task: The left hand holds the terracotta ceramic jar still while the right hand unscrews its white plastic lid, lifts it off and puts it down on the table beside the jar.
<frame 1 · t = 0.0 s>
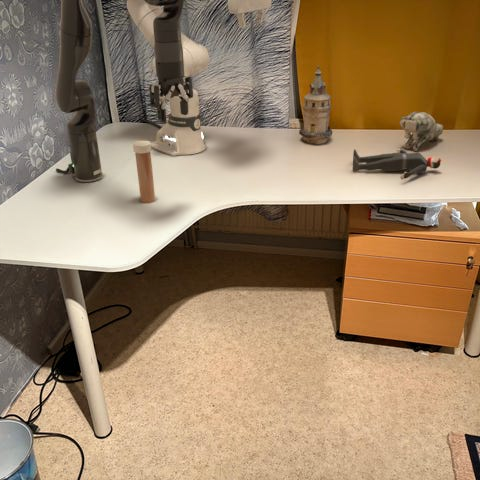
left hand: (173, 118, 150), 29 cm above the table, tool pointing down, fingers open, 8 cm apart
right hand: (250, 25, 175), 48 cm above the table, tool pointing down, fingers open, 8 cm apart
figurine: (419, 145, 213), on the table
lid: (142, 144, 163), point 19 cm above the table, screwed on, not yet turned
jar: (148, 199, 173), on the table
toy: (394, 170, 191), on the table
miniature building: (315, 140, 221), on the table
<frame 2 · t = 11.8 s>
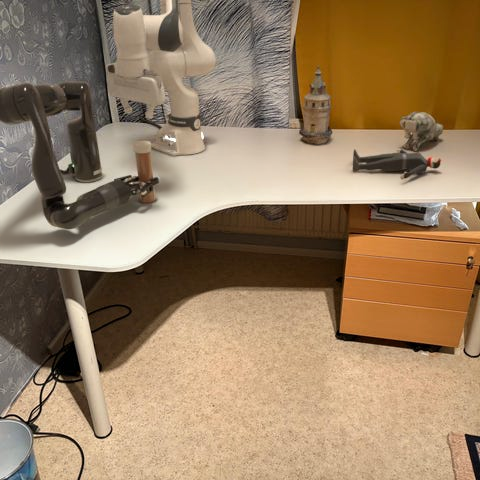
left hand: (152, 178, 171), 7 cm above the table, tool horizontal, fingers closed on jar, 4 cm apart
right hand: (138, 115, 159), 27 cm above the table, tool pointing down, fingers open, 7 cm apart
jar: (148, 199, 173), on the table, touching left hand
everything else where it was.
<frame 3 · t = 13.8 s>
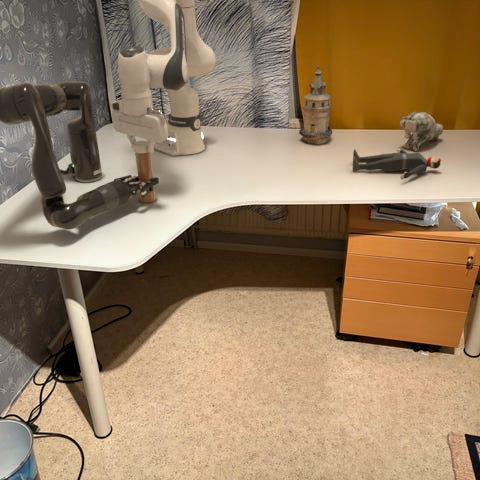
left hand: (152, 178, 171), 7 cm above the table, tool horizontal, fingers closed on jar, 4 cm apart
right hand: (142, 150, 164), 17 cm above the table, tool pointing down, fingers closed on lid, 5 cm apart
lid: (142, 144, 163), point 19 cm above the table, screwed on, not yet turned, touching right hand
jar: (147, 199, 173), on the table, touching left hand
everything else where it was.
when the right hand's fingers open (17 cm above the table, at t = 15.1 s): lid stays where it is, point 19 cm above the table.
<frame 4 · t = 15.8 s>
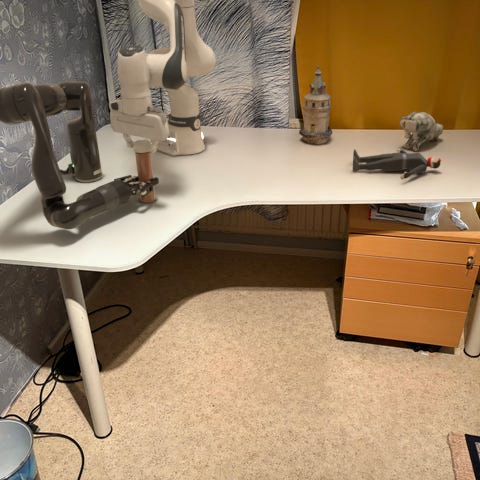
left hand: (152, 178, 171), 7 cm above the table, tool horizontal, fingers closed on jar, 4 cm apart
right hand: (141, 149, 164), 17 cm above the table, tool pointing down, fingers open, 7 cm apart
lid: (141, 143, 163), point 19 cm above the table, turned 65° so far, risen 0.2 cm, still on its thread
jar: (147, 199, 173), on the table, touching left hand
everything else where it was.
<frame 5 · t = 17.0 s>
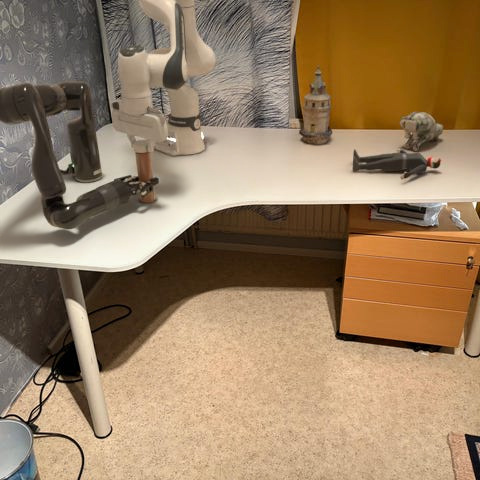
left hand: (152, 178, 171), 7 cm above the table, tool horizontal, fingers closed on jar, 4 cm apart
right hand: (142, 149, 164), 17 cm above the table, tool pointing down, fingers closed on lid, 5 cm apart
lid: (141, 143, 163), point 19 cm above the table, turned 65° so far, risen 0.2 cm, still on its thread, touching right hand
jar: (147, 199, 173), on the table, touching left hand
everything else where it was.
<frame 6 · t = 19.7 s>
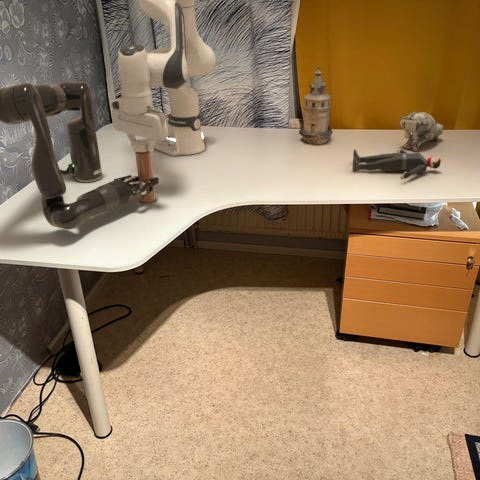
left hand: (152, 178, 171), 7 cm above the table, tool horizontal, fingers closed on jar, 4 cm apart
right hand: (142, 149, 164), 17 cm above the table, tool pointing down, fingers closed on lid, 5 cm apart
lid: (141, 143, 163), point 19 cm above the table, turned 130° so far, risen 0.4 cm, still on its thread, touching right hand
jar: (148, 199, 173), on the table, touching left hand
everything else where it was.
when the right hand's fingers open (2 cm above the table, at t = 26.5 s): lid drops 2 cm, point 2 cm above the table.
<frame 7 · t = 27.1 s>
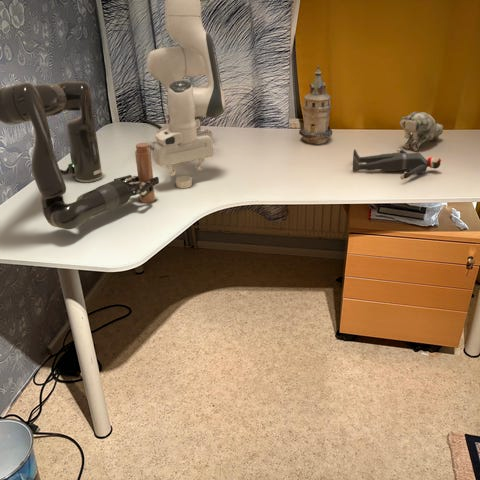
left hand: (152, 178, 171), 7 cm above the table, tool horizontal, fingers closed on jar, 4 cm apart
right hand: (185, 172, 182), 4 cm above the table, tool pointing down, fingers open, 8 cm apart
lid: (183, 179, 181), point 2 cm above the table, off its thread
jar: (147, 199, 173), on the table, touching left hand
everything else where it was.
when the left hand's fingers open (7 cm above the table, at t = 27.5 s): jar stays where it is, on the table.
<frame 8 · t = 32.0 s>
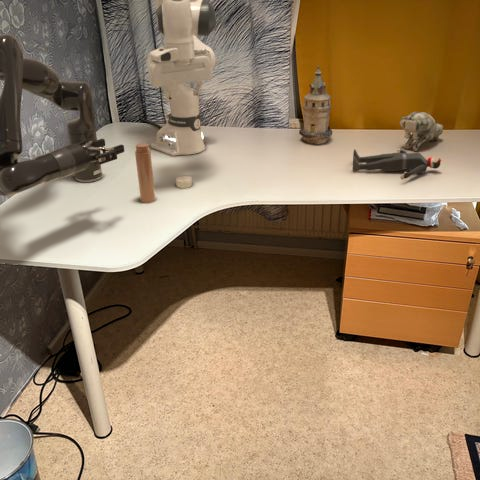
left hand: (113, 144, 155), 21 cm above the table, tool horizontal, fingers open, 8 cm apart
right hand: (182, 97, 168), 29 cm above the table, tool pointing down, fingers open, 8 cm apart
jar: (147, 199, 173), on the table
everything else where it was.
at the end: lid came off its thread; lid point 2.0 cm above the table; the left hand is holding nothing; the right hand is holding nothing; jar tilted 0°; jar moved 0.0 cm from its start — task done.
